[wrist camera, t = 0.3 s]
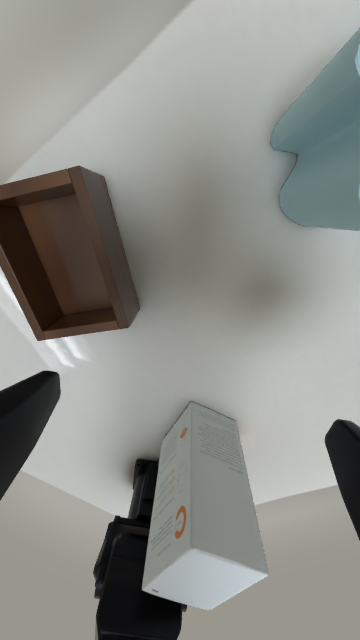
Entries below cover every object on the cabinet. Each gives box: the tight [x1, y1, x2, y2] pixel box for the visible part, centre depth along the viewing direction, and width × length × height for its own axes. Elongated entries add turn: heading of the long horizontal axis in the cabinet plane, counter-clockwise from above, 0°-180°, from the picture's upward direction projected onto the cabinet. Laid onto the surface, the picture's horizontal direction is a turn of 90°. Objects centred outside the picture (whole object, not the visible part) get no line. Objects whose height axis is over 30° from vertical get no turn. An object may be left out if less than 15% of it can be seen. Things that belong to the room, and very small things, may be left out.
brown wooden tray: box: [0, 166, 140, 341], centre depth 18 cm, size 8×11×4 cm
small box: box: [142, 402, 269, 611], centre depth 22 cm, size 8×6×13 cm
